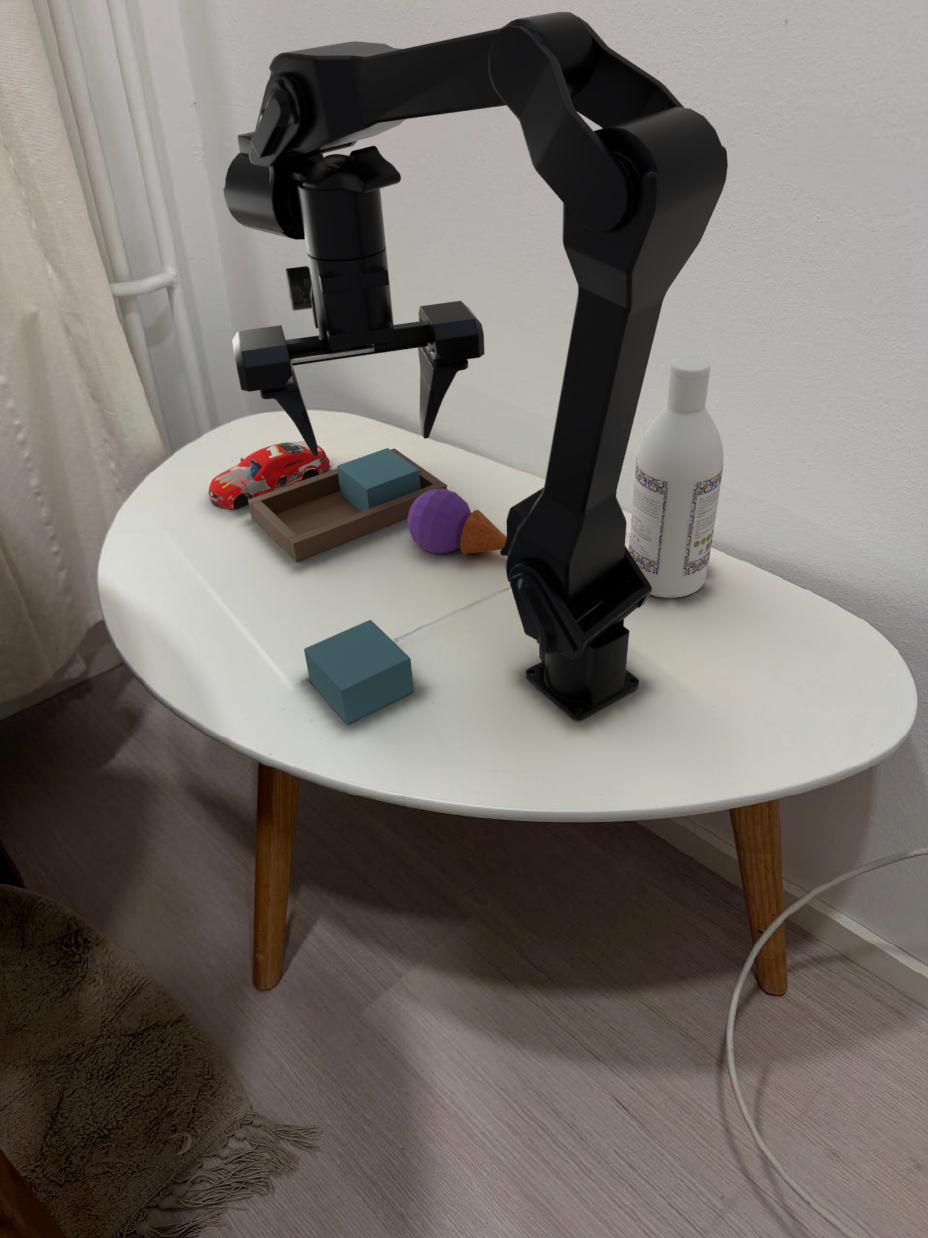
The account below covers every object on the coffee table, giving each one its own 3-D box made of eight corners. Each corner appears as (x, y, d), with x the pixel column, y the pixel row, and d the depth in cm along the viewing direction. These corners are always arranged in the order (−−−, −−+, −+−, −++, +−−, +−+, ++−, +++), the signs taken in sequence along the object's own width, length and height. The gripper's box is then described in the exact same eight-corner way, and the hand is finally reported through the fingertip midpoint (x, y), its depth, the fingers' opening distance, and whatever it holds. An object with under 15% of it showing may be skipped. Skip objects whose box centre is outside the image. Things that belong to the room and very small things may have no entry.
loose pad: (414, 692, 71) (410, 658, 69) (346, 725, 69) (341, 690, 67) (374, 652, 75) (370, 618, 73) (309, 682, 73) (303, 648, 71)
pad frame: (448, 507, 93) (447, 484, 91) (297, 567, 85) (293, 543, 84) (396, 469, 99) (394, 447, 98) (252, 522, 92) (247, 499, 90)
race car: (223, 520, 93) (214, 485, 90) (202, 498, 96) (194, 464, 94) (338, 478, 98) (333, 445, 96) (315, 459, 102) (309, 426, 99)
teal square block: (421, 500, 93) (419, 469, 91) (370, 520, 90) (366, 489, 88) (390, 477, 97) (387, 447, 95) (340, 495, 94) (336, 465, 92)
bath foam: (703, 557, 84) (734, 345, 72) (707, 603, 79) (742, 382, 66) (627, 553, 85) (644, 343, 73) (625, 598, 80) (644, 380, 67)
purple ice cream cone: (600, 578, 75) (392, 508, 82) (596, 625, 80) (399, 555, 87) (627, 532, 79) (425, 468, 86) (622, 579, 83) (430, 515, 90)
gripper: (446, 208, 74) (456, 390, 84) (211, 236, 71) (250, 422, 81) (482, 244, 66) (489, 443, 75) (217, 278, 62) (260, 481, 72)
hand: (370, 445), depth 76 cm, fingers open, 9 cm apart
